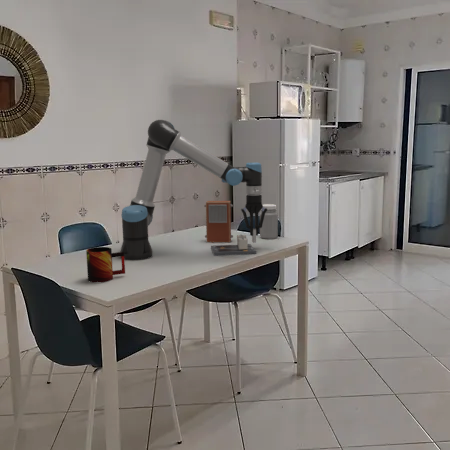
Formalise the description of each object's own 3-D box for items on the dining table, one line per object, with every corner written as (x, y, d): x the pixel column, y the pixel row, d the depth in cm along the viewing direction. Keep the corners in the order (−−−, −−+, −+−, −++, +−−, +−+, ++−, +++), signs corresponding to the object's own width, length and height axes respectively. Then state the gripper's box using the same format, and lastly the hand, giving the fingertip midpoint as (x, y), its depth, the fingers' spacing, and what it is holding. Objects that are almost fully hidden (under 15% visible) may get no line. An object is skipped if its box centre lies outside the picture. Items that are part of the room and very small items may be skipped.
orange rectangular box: (205, 240, 280) (233, 240, 279) (203, 242, 273) (232, 242, 272) (204, 200, 276) (233, 200, 275) (203, 202, 270) (231, 202, 268)
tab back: (238, 246, 254) (238, 235, 253) (237, 244, 258) (237, 234, 257) (246, 245, 255) (246, 235, 254) (245, 244, 258) (245, 234, 257)
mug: (126, 276, 209) (124, 246, 207) (98, 284, 199) (97, 253, 197) (110, 272, 215) (108, 244, 213) (82, 280, 204) (81, 250, 202)
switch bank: (214, 255, 243) (214, 251, 243) (210, 248, 259) (210, 244, 258) (256, 254, 245) (256, 249, 245) (250, 247, 261) (250, 243, 261)
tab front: (239, 249, 246) (239, 239, 245) (238, 247, 250) (238, 237, 249) (247, 249, 247) (247, 238, 246) (246, 247, 250) (246, 237, 249)
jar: (257, 236, 287) (256, 204, 284) (273, 235, 290) (273, 203, 287) (263, 240, 278) (263, 206, 275) (280, 238, 281) (280, 205, 278)
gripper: (241, 195, 248) (242, 244, 252) (268, 194, 250) (268, 243, 254) (239, 194, 256) (239, 241, 260) (265, 193, 257) (265, 240, 261)
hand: (254, 242), depth 257 cm, fingers closed
